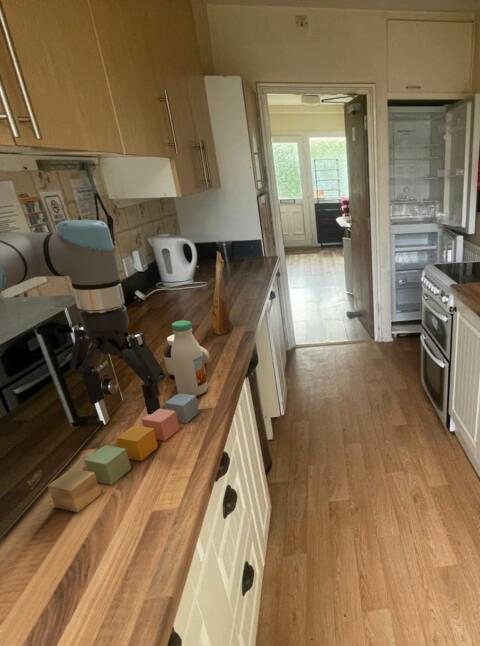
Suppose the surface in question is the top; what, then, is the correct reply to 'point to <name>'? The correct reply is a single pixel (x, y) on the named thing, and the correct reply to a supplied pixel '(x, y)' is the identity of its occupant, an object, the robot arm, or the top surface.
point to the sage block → (108, 464)
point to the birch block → (74, 490)
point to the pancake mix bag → (220, 301)
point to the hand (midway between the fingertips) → (125, 406)
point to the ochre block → (138, 442)
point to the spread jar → (168, 355)
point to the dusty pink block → (162, 423)
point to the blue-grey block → (183, 406)
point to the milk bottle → (187, 360)
